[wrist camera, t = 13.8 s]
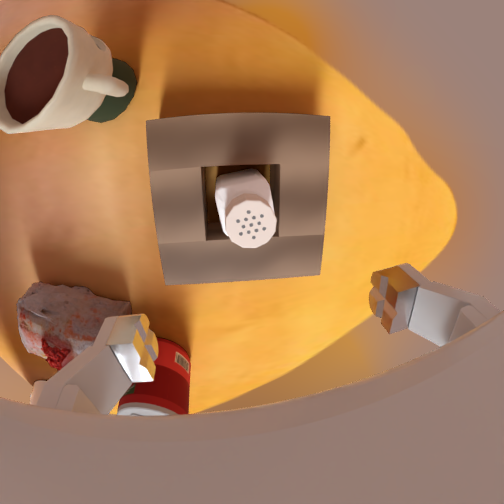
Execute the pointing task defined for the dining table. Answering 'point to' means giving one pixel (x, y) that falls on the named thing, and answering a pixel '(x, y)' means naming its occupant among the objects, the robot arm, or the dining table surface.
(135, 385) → the canned food
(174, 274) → the socket
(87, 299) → the food item
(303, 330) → the dining table surface
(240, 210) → the pepper shaker
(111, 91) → the character mug
